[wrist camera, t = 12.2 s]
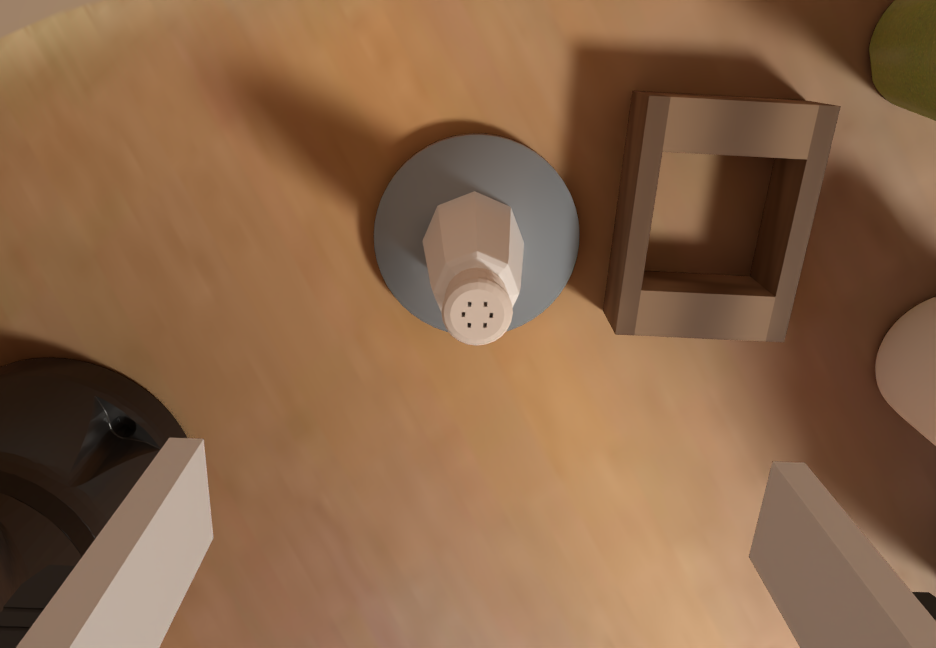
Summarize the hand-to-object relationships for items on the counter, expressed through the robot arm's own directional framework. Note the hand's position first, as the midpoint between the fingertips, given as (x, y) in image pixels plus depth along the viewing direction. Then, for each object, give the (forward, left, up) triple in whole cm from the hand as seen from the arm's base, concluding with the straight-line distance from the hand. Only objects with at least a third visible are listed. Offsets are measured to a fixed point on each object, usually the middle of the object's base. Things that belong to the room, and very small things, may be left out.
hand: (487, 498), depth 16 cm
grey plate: (0, 0, -24) cm, 24 cm away
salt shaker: (0, 0, -23) cm, 23 cm away
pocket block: (+12, +2, -24) cm, 27 cm away
